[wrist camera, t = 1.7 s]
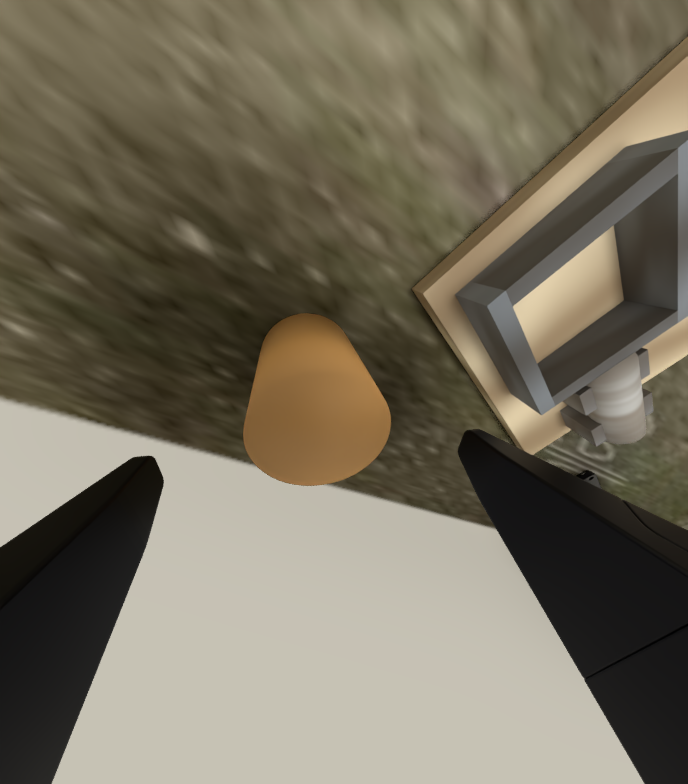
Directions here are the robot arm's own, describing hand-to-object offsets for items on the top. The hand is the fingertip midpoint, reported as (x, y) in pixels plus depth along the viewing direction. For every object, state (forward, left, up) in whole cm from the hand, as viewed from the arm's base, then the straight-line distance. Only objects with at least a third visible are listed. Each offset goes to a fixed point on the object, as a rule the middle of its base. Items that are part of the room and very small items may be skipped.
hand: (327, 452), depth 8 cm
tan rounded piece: (0, 0, -7) cm, 7 cm away
